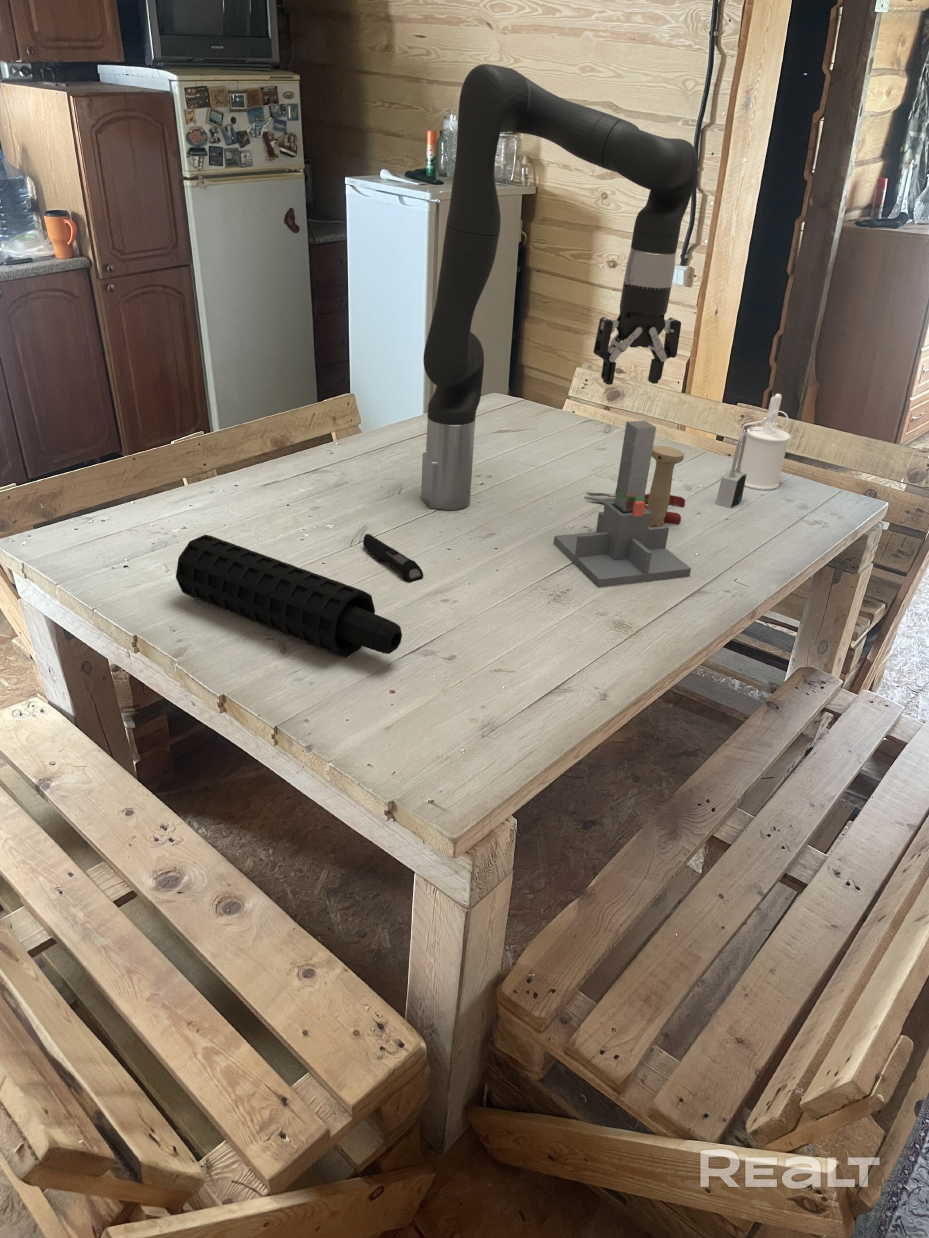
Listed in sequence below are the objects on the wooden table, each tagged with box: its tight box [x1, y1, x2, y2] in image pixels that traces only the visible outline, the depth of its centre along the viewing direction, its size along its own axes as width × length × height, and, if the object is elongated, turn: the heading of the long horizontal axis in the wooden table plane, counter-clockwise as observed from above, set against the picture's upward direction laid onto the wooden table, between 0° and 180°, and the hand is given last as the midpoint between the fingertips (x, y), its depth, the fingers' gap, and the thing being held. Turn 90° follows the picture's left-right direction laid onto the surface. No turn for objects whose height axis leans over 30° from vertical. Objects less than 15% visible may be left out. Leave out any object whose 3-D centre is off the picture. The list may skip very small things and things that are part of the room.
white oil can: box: [739, 393, 792, 491], centre depth 197 cm, size 10×9×20 cm
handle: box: [647, 445, 685, 527], centre depth 174 cm, size 5×6×15 cm
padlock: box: [715, 432, 747, 509], centre depth 187 cm, size 7×4×15 cm, turn 145°
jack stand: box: [553, 501, 692, 588], centre depth 159 cm, size 18×18×12 cm
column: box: [614, 420, 657, 514], centre depth 154 cm, size 4×4×17 cm
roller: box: [175, 534, 403, 659], centre depth 132 cm, size 38×10×10 cm, turn 58°
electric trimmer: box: [362, 533, 424, 583], centre depth 155 cm, size 4×16×3 cm, turn 37°
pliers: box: [583, 492, 686, 525], centre depth 184 cm, size 12×20×3 cm, turn 73°
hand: (630, 383), depth 150 cm, fingers open, 8 cm apart
